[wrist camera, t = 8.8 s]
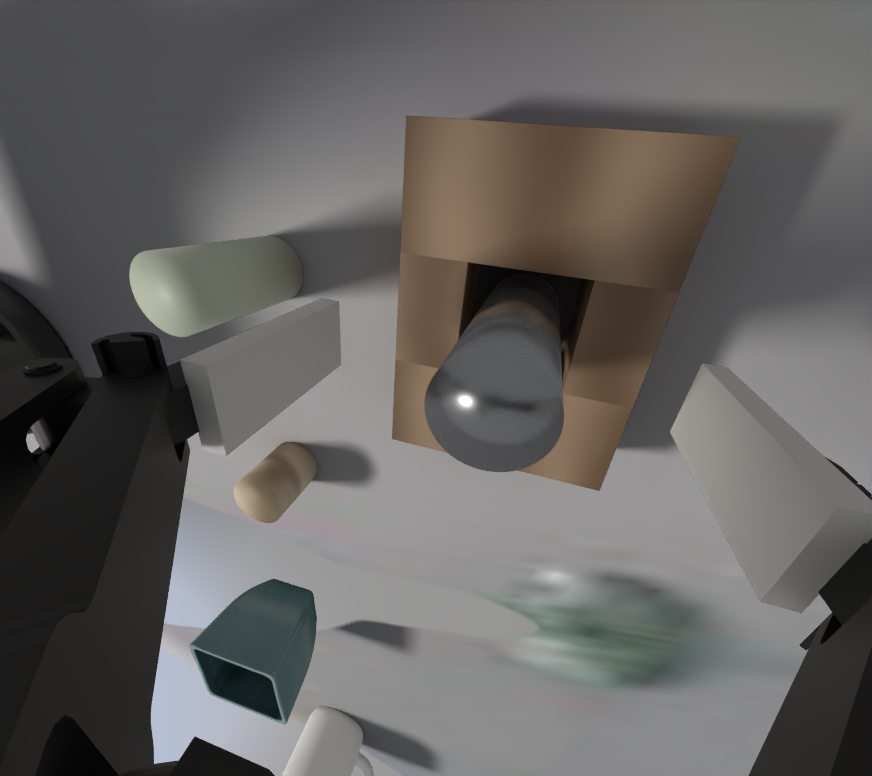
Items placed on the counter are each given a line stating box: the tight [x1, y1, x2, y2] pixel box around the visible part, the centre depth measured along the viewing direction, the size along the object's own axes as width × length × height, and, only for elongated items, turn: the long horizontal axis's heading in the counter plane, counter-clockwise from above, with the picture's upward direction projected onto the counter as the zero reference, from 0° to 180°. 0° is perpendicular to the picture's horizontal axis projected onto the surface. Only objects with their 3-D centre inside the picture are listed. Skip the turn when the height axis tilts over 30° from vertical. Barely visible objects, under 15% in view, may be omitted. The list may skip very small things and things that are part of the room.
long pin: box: [424, 274, 564, 472], centre depth 16 cm, size 4×4×12 cm
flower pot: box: [190, 579, 317, 724], centre depth 38 cm, size 9×9×9 cm
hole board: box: [392, 116, 741, 491], centre depth 19 cm, size 12×16×4 cm
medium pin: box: [129, 236, 303, 337], centre depth 21 cm, size 4×4×8 cm
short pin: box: [234, 442, 318, 523], centre depth 30 cm, size 4×4×5 cm
